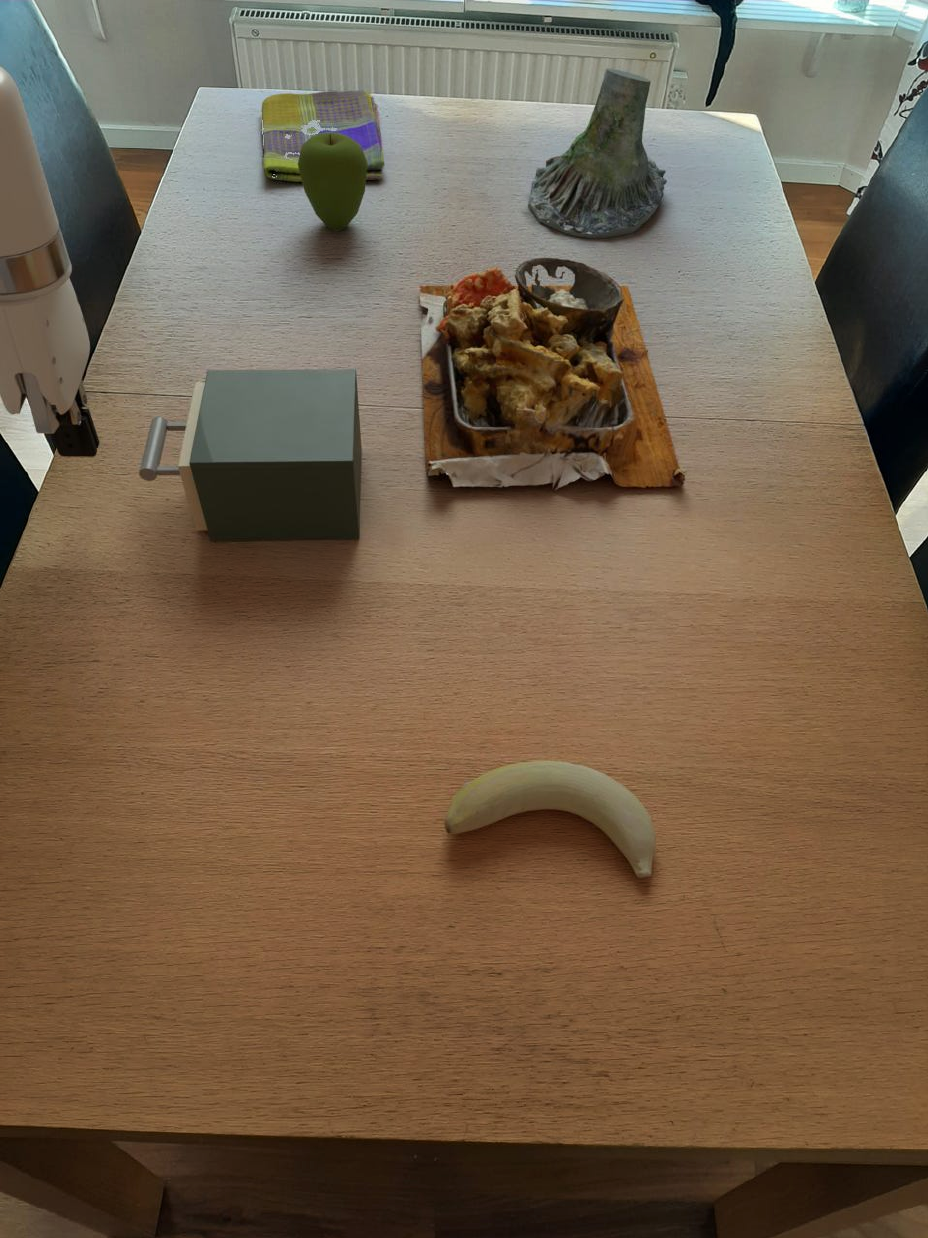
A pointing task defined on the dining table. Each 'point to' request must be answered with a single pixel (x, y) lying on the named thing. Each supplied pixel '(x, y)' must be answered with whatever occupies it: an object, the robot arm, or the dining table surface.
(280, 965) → the dining table surface
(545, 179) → the tree stump
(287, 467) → the cabinet
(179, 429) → the drawer
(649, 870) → the fruit
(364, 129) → the dish towel
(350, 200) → the apple
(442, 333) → the food tray
